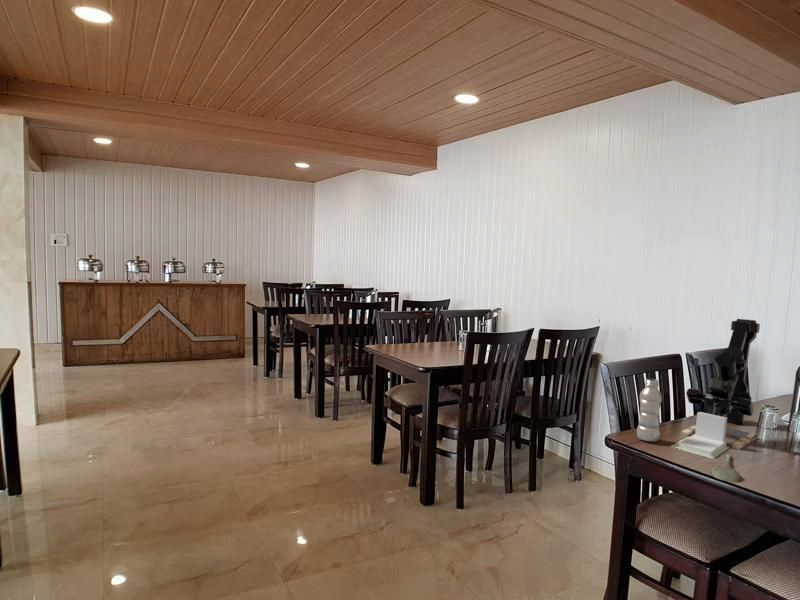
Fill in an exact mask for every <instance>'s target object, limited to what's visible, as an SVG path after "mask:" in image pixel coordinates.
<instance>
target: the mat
mask: <svg viewBox="0 0 800 600" xmlns="http://www.w3.org/2000/svg"><path fill="white" fill-rule="evenodd" d="M689 437H690V436H686V437H685V438H683V439H681V440H679V441H678V442H676V443H674V444H677V445H676V446H677V447H675V448H674V449H676V448H678V449H677V450H680V449H681V448H679V445H678V444H679V443H680V442H682V441H684V440H685V439H687V438H689ZM674 444H672V445H671V446H673V447H674V446H675V445H674ZM673 447H672V448H673ZM729 448H730V446H727V445H726V446H725V447H724V448H722V449H721V450H720V451H718V452H717V453H715V454H714V455H713V456H711V457H710V456H707V455H703V454H699V453H696V452H692V451H688V450H685V449H681V450H680V451H683V450H684V452H688V453H690V452H691V453H692V454H694V455H697V454H698V456H701V457H705V458H709V459H711V460H712V459H715V458H717V457H718V456H719V455H721V454H722V453H724V452H725V451H726V450H728V449H729ZM691 453H690V454H691Z"/></svg>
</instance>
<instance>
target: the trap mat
mask: <svg viewBox="0 0 800 600" xmlns="http://www.w3.org/2000/svg"><path fill="white" fill-rule="evenodd" d="M749 433H750V432H747V431H742V430H739V429H734V428H730V427H726V434H729V435H733V436H736V435H737V437H740V436H742V437H744V436H746V437H747V435H748V434H749ZM742 437H741V438H742Z"/></svg>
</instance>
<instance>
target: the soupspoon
mask: <svg viewBox="0 0 800 600" xmlns="http://www.w3.org/2000/svg"><path fill="white" fill-rule="evenodd" d="M725 457H726V459H725V463H724V465H721V466H720V465H718V466H714V467H712V468H711V474H712V476H713V477H714V478H716V479H718V480H721V481H725V482H730V483H738V482H739V481H740V479H741V475H740V473H739V471H737V470H736V469H734V468H732V467H730V460H731V459H733V458H734V455H732V453H727V454H726V455H725Z"/></svg>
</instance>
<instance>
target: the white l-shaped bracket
mask: <svg viewBox="0 0 800 600" xmlns="http://www.w3.org/2000/svg"><path fill="white" fill-rule="evenodd" d="M695 421H696V422H695V424H696V431H695V433H693V434H691V435H689V436H688V437H689V438H687V437H686V438H687V439H685V438H684V439H685V440H684V441H682V442H680V443H679V448H681V449H685V450H688V451H692V452H696V453H699V454H703V455H707V456H710V457H711V456H713V455H714V454H715V453H717V452H718V451H720V450H721V449H722V448H724V447H725V446H727V443H728V441H727V440H726V434H727V433H726V428H727V425H728V424H727V423H728V422H727V418H726V416H722V417H721V416H717V415H712V414H709V412H707V413H706V412H702V411H699V412H697V413H696V420H695Z"/></svg>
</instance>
